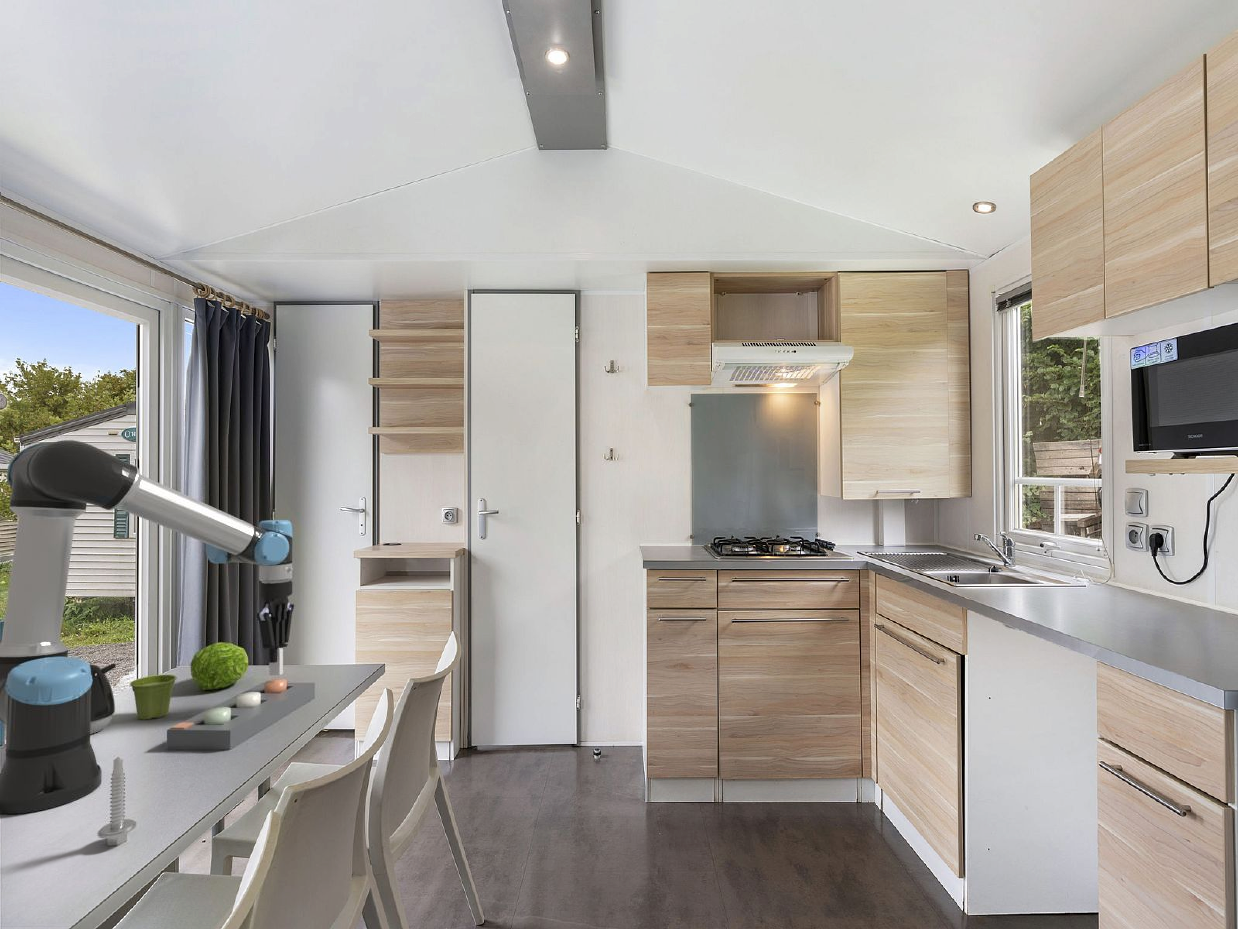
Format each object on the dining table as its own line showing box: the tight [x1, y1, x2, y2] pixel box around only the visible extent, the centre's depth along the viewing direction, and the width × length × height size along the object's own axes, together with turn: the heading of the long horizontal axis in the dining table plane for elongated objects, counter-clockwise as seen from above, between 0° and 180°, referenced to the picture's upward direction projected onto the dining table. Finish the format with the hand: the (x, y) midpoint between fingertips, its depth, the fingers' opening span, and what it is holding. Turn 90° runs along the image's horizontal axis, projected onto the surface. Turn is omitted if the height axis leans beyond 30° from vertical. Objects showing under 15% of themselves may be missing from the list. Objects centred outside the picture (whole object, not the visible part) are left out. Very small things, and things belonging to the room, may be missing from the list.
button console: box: [166, 682, 316, 751], centre depth 157 cm, size 34×14×4 cm, turn 176°
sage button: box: [204, 707, 231, 725], centre depth 146 cm, size 5×5×4 cm
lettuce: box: [190, 642, 249, 691], centre depth 189 cm, size 13×22×14 cm
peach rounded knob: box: [263, 678, 288, 693], centre depth 168 cm, size 5×5×4 cm
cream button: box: [236, 692, 261, 708], centre depth 157 cm, size 5×5×4 cm
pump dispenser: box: [88, 662, 116, 735], centre depth 151 cm, size 10×10×15 cm
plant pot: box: [129, 673, 178, 720], centre depth 162 cm, size 9×9×9 cm
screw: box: [96, 756, 137, 847], centre depth 103 cm, size 13×5×5 cm
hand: (276, 674), depth 168 cm, fingers closed
